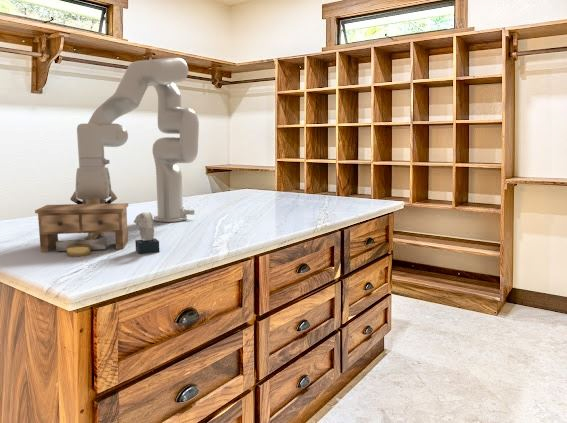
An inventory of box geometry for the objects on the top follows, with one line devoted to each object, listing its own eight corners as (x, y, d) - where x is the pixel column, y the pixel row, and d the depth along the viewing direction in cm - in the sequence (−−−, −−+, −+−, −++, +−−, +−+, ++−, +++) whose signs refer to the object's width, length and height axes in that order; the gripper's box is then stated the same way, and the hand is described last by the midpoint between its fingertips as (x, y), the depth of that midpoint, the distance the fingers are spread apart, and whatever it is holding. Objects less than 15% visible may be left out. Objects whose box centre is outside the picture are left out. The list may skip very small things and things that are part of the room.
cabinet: (129, 241, 146) (128, 203, 145) (124, 249, 135) (122, 208, 133) (50, 243, 142) (47, 204, 140) (37, 253, 131) (34, 210, 129)
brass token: (93, 251, 133) (92, 243, 133) (87, 256, 127) (87, 248, 127) (70, 252, 132) (70, 244, 132) (64, 257, 126) (63, 248, 126)
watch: (153, 247, 138) (152, 210, 137) (161, 253, 131) (159, 214, 130) (133, 249, 135) (132, 211, 134) (140, 255, 129) (138, 215, 127)
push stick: (118, 233, 156) (115, 184, 153) (105, 249, 134) (102, 192, 131) (76, 234, 153) (73, 185, 151) (56, 250, 131) (52, 193, 129)
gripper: (121, 162, 154) (124, 218, 157) (66, 163, 151) (70, 219, 154) (117, 163, 147) (120, 222, 150) (60, 164, 144) (64, 223, 147)
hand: (95, 220), depth 152 cm, fingers closed on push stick, 4 cm apart
